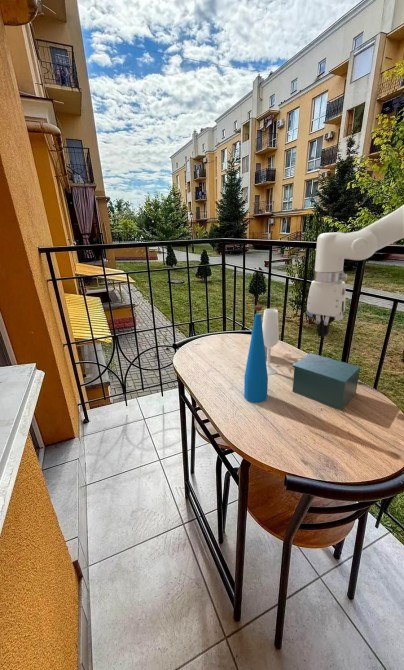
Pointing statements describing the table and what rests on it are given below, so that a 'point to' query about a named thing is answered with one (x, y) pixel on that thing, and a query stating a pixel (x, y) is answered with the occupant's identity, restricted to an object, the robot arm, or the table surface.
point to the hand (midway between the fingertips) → (322, 335)
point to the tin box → (324, 388)
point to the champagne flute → (270, 334)
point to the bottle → (256, 364)
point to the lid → (327, 368)
